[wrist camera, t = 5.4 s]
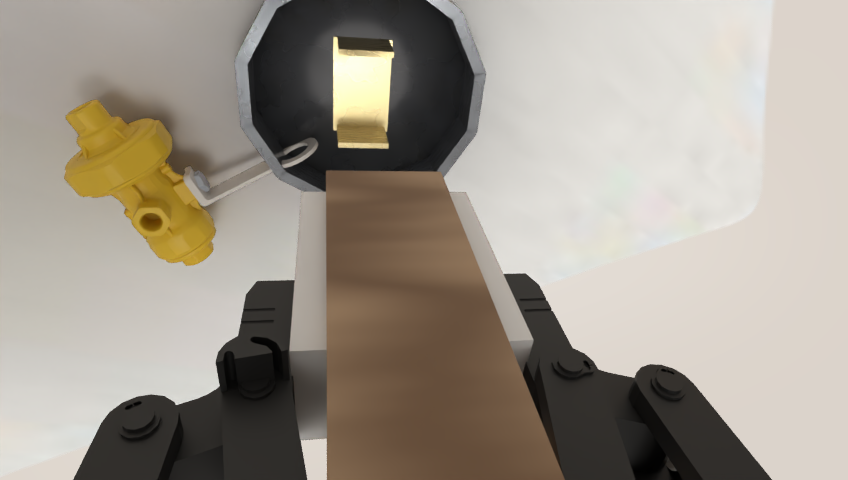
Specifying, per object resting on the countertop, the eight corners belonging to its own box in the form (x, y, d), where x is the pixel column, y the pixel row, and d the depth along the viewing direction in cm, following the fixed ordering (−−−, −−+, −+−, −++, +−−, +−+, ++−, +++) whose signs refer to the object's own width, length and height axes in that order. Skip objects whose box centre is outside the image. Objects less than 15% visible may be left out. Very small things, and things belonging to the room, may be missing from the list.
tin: (253, 181, 34) (247, 207, 31) (232, -54, 26) (222, -47, 24) (455, 183, 36) (466, 207, 33) (485, -32, 29) (502, -23, 26)
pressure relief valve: (165, 252, 34) (48, 115, 29) (332, 166, 35) (249, 16, 30) (157, 301, 30) (16, 149, 24) (348, 200, 31) (254, 31, 25)
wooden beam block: (327, 265, 18) (329, 735, 8) (326, 170, 16) (327, 632, 6) (430, 263, 18) (551, 698, 9) (440, 171, 17) (610, 593, 7)
